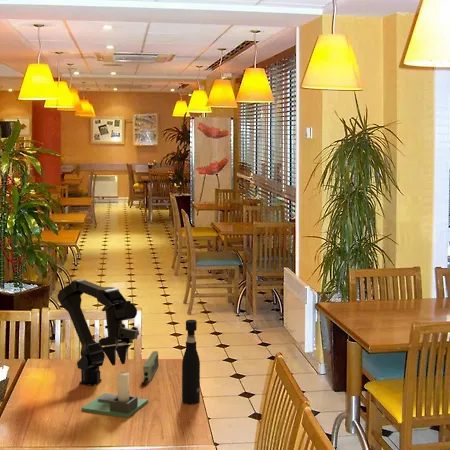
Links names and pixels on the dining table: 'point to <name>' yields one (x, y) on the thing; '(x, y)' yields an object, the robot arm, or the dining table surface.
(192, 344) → the wine bottle
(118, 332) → the robot arm
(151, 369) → the handheld radio
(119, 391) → the white cylinder
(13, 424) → the dining table surface
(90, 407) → the board
